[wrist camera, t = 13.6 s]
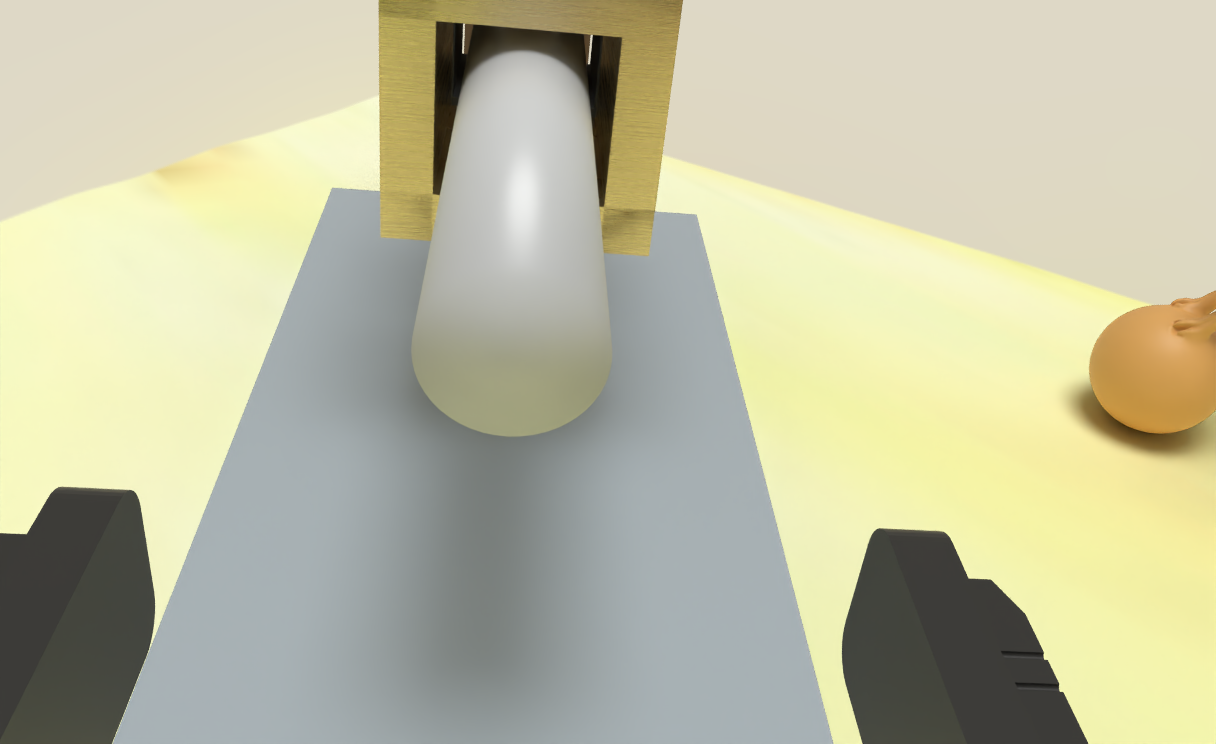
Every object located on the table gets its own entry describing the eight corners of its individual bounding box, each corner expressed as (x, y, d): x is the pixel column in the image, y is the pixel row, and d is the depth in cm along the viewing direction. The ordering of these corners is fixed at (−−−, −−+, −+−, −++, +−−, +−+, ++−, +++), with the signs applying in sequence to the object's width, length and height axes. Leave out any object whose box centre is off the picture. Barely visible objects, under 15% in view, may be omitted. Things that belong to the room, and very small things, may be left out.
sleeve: (633, 161, 32) (661, -75, 29) (649, 256, 27) (684, -15, 24) (407, 143, 32) (408, -99, 28) (380, 237, 27) (378, -43, 23)
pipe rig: (693, 233, 45) (762, -214, 36) (832, 795, 23) (1084, 5, 15) (332, 207, 44) (318, -262, 35) (116, 776, 22) (-61, -103, 13)
